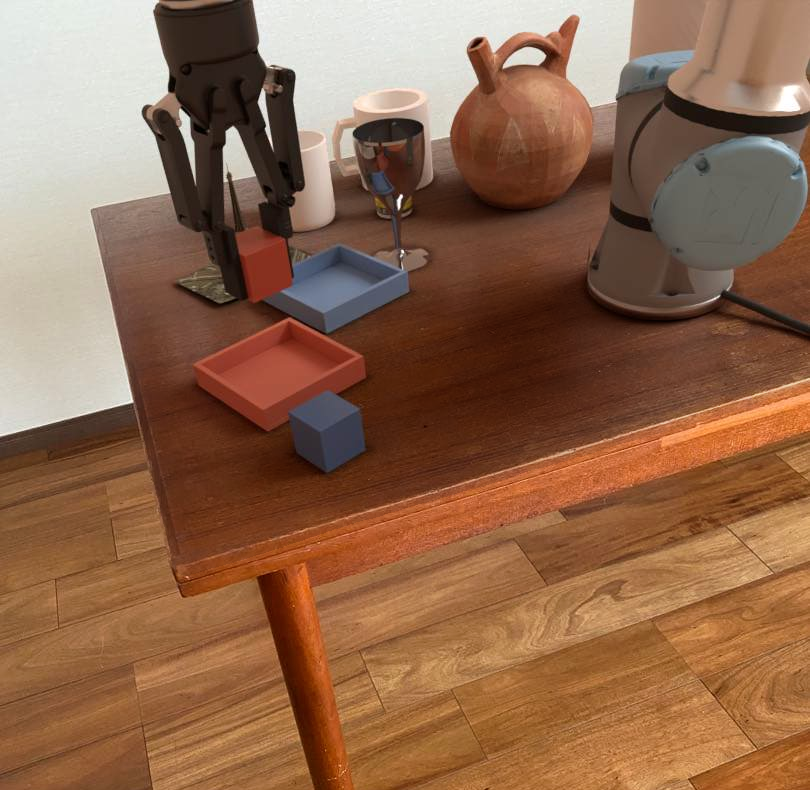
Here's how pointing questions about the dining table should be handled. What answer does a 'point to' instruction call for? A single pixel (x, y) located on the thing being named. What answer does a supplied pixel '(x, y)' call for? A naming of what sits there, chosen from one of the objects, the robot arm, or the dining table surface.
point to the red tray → (278, 371)
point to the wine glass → (392, 176)
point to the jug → (522, 123)
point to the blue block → (327, 431)
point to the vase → (665, 26)
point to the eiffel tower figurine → (210, 276)
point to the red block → (263, 263)
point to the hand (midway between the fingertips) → (260, 284)
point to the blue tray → (339, 287)
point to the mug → (384, 107)
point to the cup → (313, 184)
